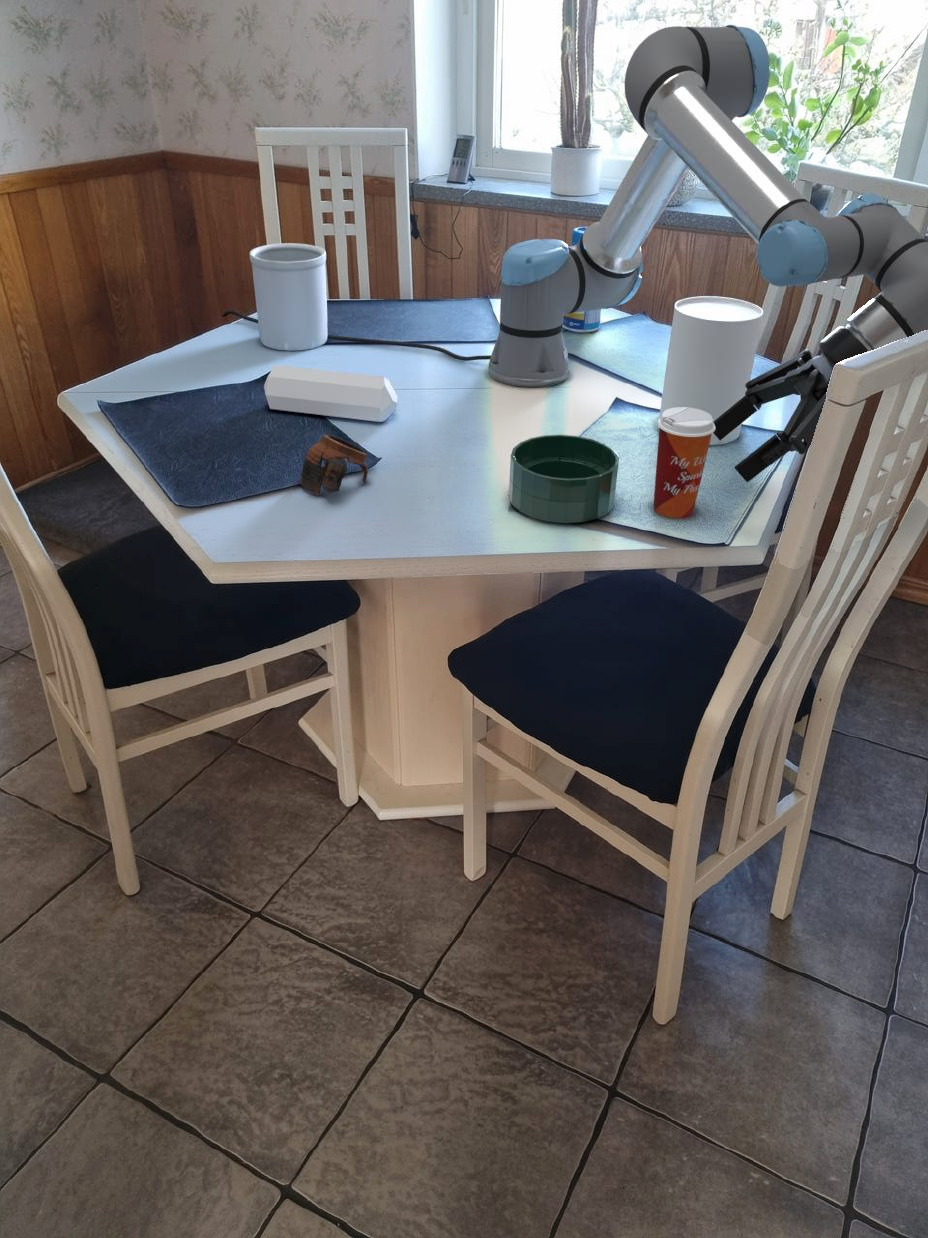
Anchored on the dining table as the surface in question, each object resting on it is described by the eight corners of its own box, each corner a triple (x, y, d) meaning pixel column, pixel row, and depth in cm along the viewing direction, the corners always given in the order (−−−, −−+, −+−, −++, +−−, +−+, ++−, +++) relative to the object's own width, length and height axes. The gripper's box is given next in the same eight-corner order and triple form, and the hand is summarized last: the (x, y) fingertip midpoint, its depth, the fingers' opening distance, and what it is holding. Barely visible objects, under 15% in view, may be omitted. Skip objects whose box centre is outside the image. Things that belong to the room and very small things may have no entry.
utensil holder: (346, 337, 195) (341, 249, 185) (298, 357, 184) (291, 264, 174) (292, 325, 201) (284, 239, 191) (243, 343, 191) (232, 253, 181)
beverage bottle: (602, 334, 199) (612, 234, 188) (562, 333, 199) (570, 233, 188) (598, 321, 206) (607, 225, 195) (560, 321, 206) (567, 224, 195)
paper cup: (668, 526, 129) (683, 431, 121) (635, 503, 134) (647, 410, 126) (712, 514, 132) (730, 421, 124) (678, 492, 137) (692, 401, 129)
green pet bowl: (491, 510, 132) (493, 464, 128) (534, 470, 143) (537, 427, 139) (591, 535, 126) (595, 488, 122) (628, 492, 137) (633, 447, 133)
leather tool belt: (293, 477, 141) (314, 426, 139) (351, 500, 144) (372, 451, 142) (297, 493, 130) (319, 437, 128) (359, 518, 133) (382, 464, 131)
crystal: (407, 385, 161) (278, 371, 166) (395, 377, 154) (261, 362, 159) (401, 428, 162) (273, 413, 167) (389, 422, 155) (256, 406, 160)
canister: (688, 450, 150) (708, 325, 139) (642, 419, 160) (658, 301, 149) (756, 437, 154) (781, 315, 143) (708, 408, 165) (727, 292, 153)
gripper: (918, 401, 112) (769, 513, 120) (840, 335, 132) (718, 434, 140) (886, 357, 109) (736, 475, 117) (812, 297, 129) (688, 401, 137)
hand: (726, 453), depth 128 cm, fingers open, 13 cm apart
